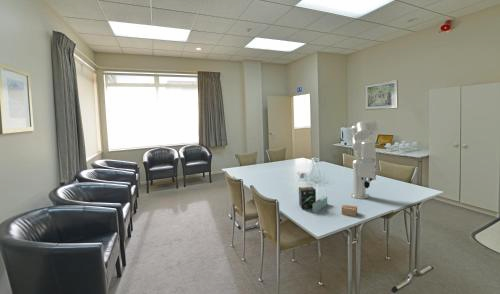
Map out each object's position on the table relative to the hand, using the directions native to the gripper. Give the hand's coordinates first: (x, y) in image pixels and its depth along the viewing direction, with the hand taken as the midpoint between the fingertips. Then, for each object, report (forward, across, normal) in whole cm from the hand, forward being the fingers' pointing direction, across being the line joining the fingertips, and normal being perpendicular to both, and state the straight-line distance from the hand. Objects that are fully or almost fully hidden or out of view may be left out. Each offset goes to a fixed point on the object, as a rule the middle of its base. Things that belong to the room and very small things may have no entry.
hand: (366, 187), depth 159 cm
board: (+20, +32, +1) cm, 38 cm away
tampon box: (+21, +41, +4) cm, 46 cm away
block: (+21, +11, 0) cm, 23 cm away
